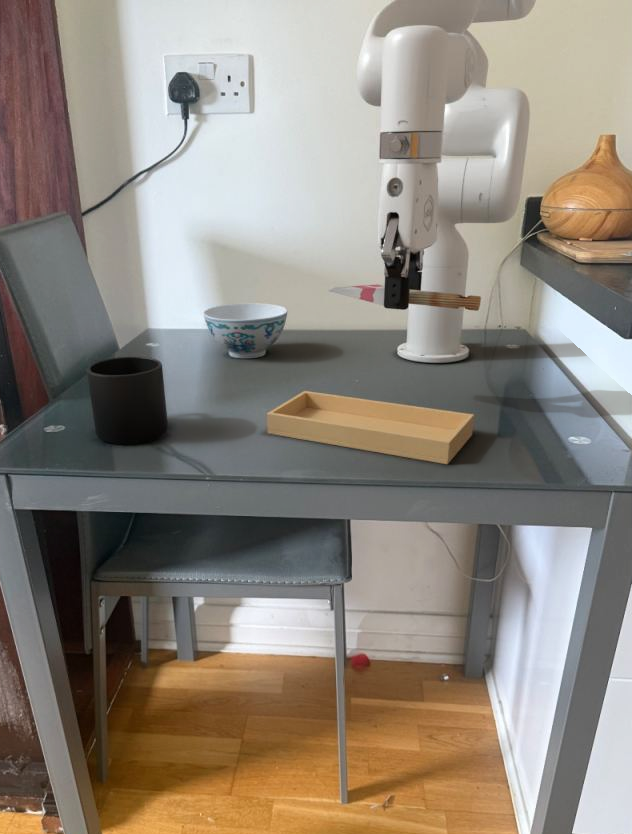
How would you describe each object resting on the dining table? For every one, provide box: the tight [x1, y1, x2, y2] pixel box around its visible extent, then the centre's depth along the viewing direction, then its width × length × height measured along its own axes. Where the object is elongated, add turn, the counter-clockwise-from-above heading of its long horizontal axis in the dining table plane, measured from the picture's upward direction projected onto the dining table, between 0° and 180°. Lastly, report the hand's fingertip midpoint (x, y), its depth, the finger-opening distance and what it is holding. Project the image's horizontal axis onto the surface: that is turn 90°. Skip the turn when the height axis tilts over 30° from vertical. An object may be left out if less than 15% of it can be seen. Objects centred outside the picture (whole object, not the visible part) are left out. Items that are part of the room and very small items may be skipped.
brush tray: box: [266, 390, 475, 465], centre depth 92 cm, size 11×24×3 cm, turn 62°
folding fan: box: [328, 283, 482, 312], centre depth 94 cm, size 4×3×20 cm
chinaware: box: [203, 302, 288, 359], centre depth 129 cm, size 15×15×8 cm
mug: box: [86, 356, 169, 445], centre depth 94 cm, size 9×12×9 cm
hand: (402, 303), depth 94 cm, fingers closed on folding fan, 3 cm apart
